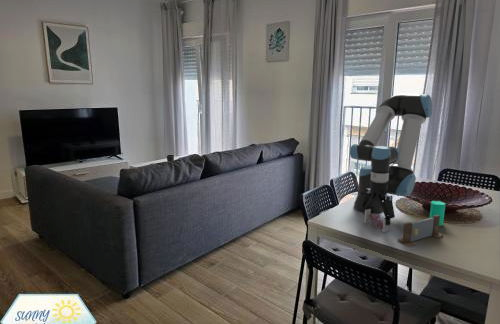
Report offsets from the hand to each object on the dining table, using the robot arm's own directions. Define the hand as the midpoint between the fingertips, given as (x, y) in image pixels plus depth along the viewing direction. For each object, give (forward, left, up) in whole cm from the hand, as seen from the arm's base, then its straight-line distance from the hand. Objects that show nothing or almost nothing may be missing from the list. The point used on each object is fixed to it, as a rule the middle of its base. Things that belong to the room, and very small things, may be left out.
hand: (375, 226), depth 155 cm
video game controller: (0, +1, 0) cm, 1 cm away
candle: (+9, +30, -1) cm, 31 cm away
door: (+18, +8, 0) cm, 20 cm away
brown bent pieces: (+17, +8, -1) cm, 19 cm away
